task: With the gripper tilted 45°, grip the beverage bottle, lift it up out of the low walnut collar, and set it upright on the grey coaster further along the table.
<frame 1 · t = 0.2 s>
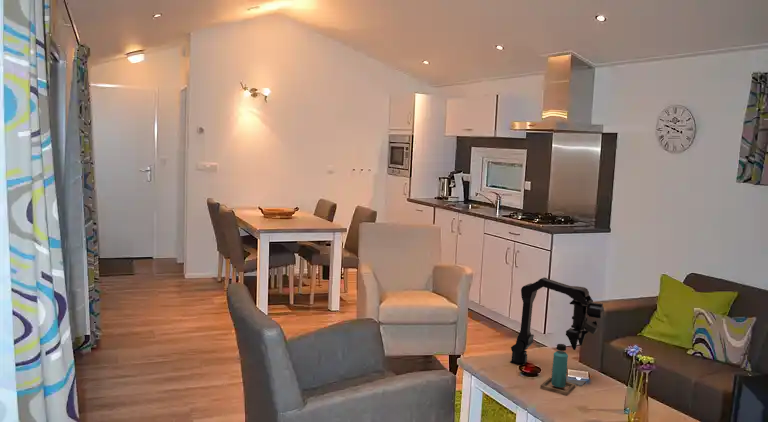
hand: (577, 347, 303), 14 cm above the table, tool pointing down, fingers open, 9 cm apart
beverage bottle: (557, 388, 291), resting in walnut collar
walnut collar: (557, 387, 291), on the table
grey coaster: (573, 380, 301), on the table
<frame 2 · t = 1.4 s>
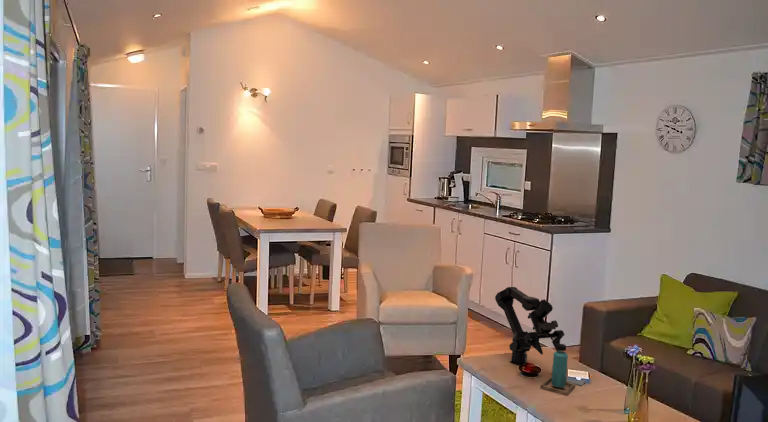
hand: (550, 353, 296), 13 cm above the table, tool tilted 45°, fingers open, 9 cm apart
nothing on the table moved.
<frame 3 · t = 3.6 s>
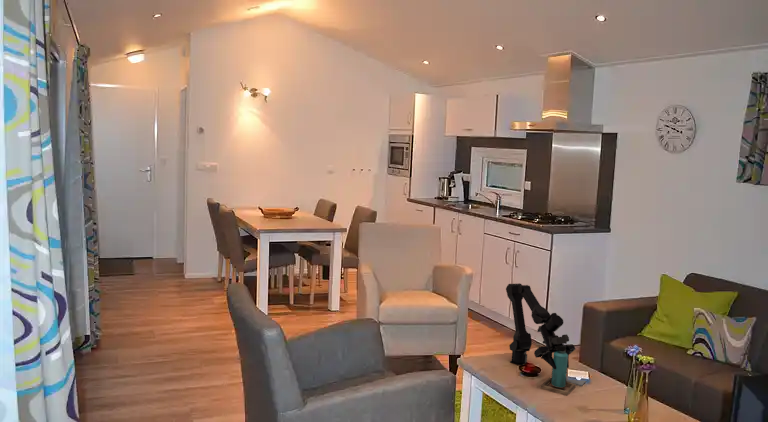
hand: (561, 368, 289), 10 cm above the table, tool tilted 45°, fingers closed on beverage bottle, 6 cm apart
beverage bottle: (557, 388, 291), resting in walnut collar, touching gripper
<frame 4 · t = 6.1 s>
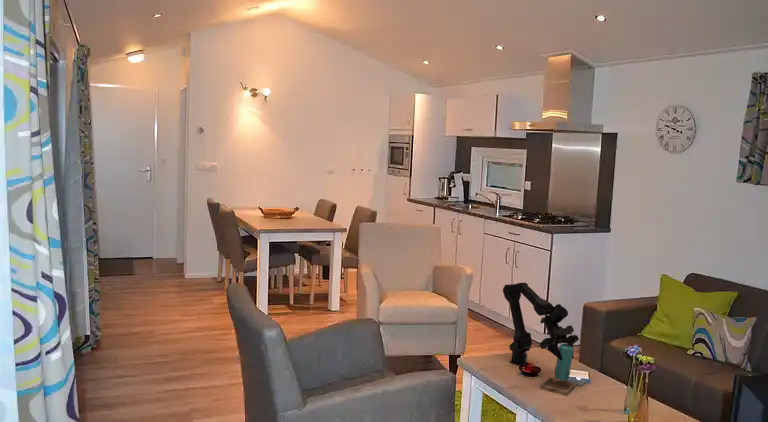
hand: (567, 359, 290), 13 cm above the table, tool tilted 45°, fingers closed on beverage bottle, 6 cm apart
beverage bottle: (560, 381, 292), point 2 cm above the table, touching gripper
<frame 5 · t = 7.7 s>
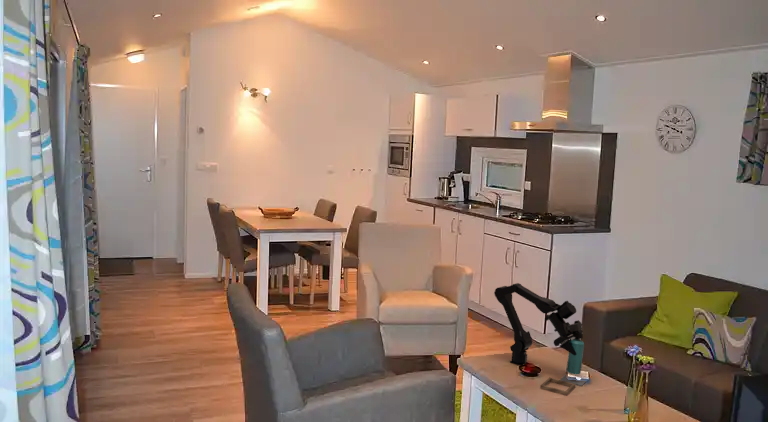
hand: (579, 353, 299), 13 cm above the table, tool tilted 45°, fingers closed on beverage bottle, 6 cm apart
beverage bottle: (572, 375, 300), point 2 cm above the table, touching gripper
when the fingers open (11 cm above the table, at t = 8.8 s): beverage bottle stays where it is, resting on grey coaster.
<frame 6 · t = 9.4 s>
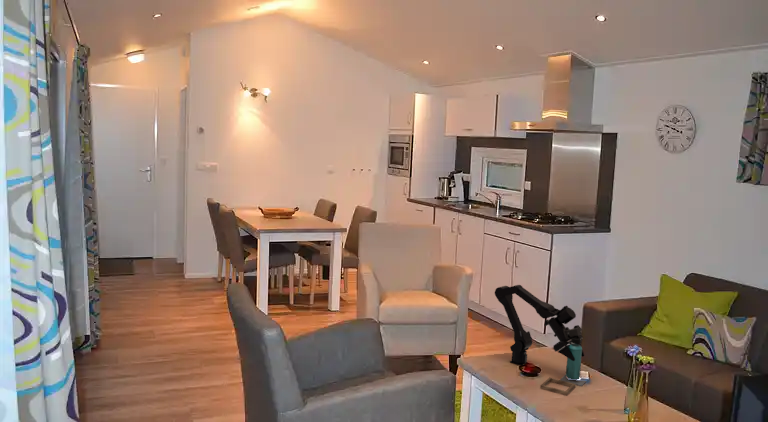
hand: (578, 358, 299), 11 cm above the table, tool tilted 45°, fingers open, 9 cm apart
beverage bottle: (572, 380, 300), resting on grey coaster, touching gripper
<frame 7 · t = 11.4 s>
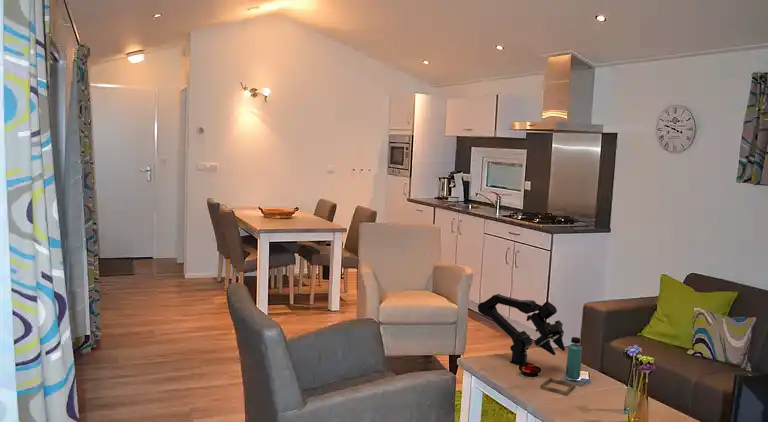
hand: (559, 352, 305), 11 cm above the table, tool tilted 45°, fingers open, 9 cm apart
beverage bottle: (572, 380, 300), resting on grey coaster
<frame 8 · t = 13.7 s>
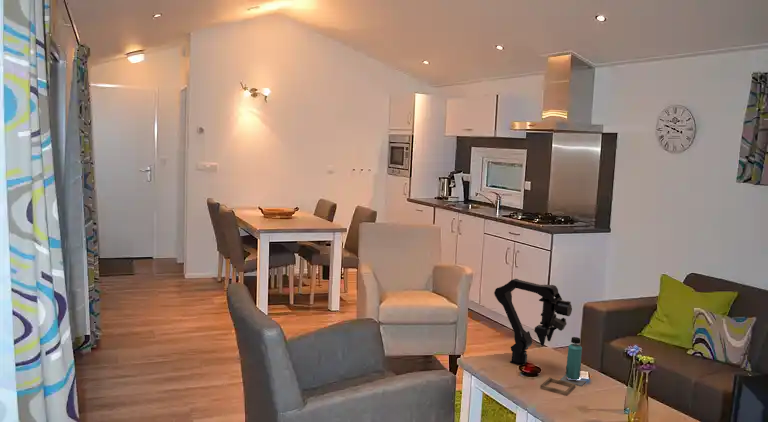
hand: (545, 343, 311), 13 cm above the table, tool pointing down, fingers open, 9 cm apart
nothing on the table moved.
at the end: beverage bottle inside the target area on the grey coaster (1.4 cm from its centre), point 0.4 cm above the grey coaster's base; beverage bottle tilted 0°; the gripper is holding nothing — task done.
